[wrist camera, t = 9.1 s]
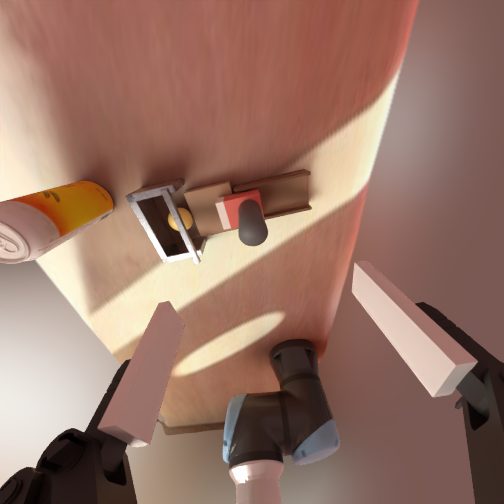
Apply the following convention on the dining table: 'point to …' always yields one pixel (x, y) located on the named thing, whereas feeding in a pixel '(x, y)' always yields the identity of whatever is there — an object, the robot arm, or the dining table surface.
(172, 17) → the dining table surface
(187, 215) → the ball
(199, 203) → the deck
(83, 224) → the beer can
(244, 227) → the post on red base
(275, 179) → the rail
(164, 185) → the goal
